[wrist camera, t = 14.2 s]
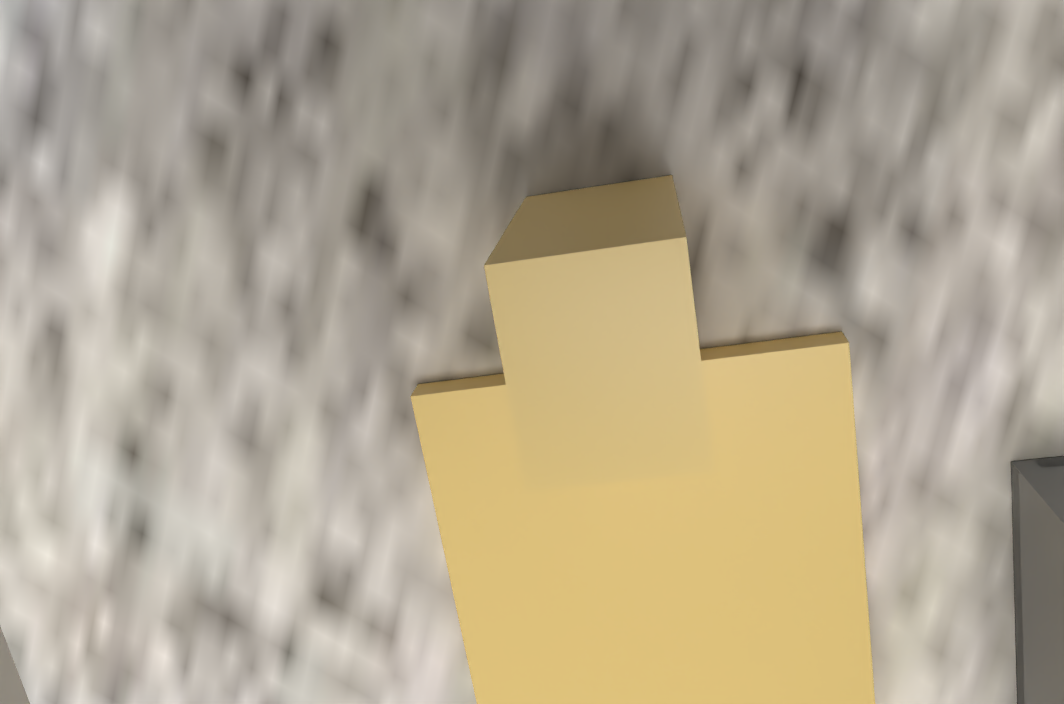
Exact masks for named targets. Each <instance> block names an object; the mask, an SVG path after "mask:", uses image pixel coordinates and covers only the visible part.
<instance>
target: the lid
mask: <svg viewBox="0 0 1064 704" xmlns="http://www.w3.org/2000/svg"><path fill="white" fill-rule="evenodd" d="M484 269H485V274H486V279H487V285H488V290H489V296H490V301H491V307H492V312H493V317H494V323H495V328H496V334H497V339H498V345H499V350H500V355H501V361H502V366H503V372H504V374H496V375H488V376H480V377H472V378H464V379H456V380H448V381H440V382H432V383H424V384H418V385H417V387H416V388H415V390H414V392H413V393H412V395H411V400H412V405H413V410H414V414H415V419H416V423H417V428H418V433H419V437H420V442H421V447H422V451H423V456H424V461H425V465H426V470H427V474H428V479H429V484H430V488H431V493H432V498H433V502H434V507H435V511H436V516H437V521H438V525H439V530H440V535H441V539H442V544H443V549H444V553H445V558H446V562H447V567H448V572H449V576H450V581H451V586H452V590H453V595H454V599H455V604H456V609H457V613H458V618H459V623H460V627H461V632H462V637H463V641H464V646H465V650H466V655H467V660H468V664H469V669H470V674H471V678H472V683H473V687H474V692H475V697H476V701H477V704H875V697H874V683H873V669H872V655H871V641H870V628H869V614H868V600H867V586H866V572H865V558H864V544H863V530H862V516H861V502H860V488H859V474H858V461H857V447H856V433H855V419H854V405H853V391H852V377H851V363H850V349H849V342H848V340H847V339H846V337H845V336H844V334H843V333H842V332H834V333H826V334H818V335H810V336H802V337H794V338H786V339H778V340H770V341H762V342H754V343H746V344H738V345H730V346H722V347H714V348H706V349H700V347H699V338H698V330H697V322H696V313H695V305H694V297H693V288H692V280H691V272H690V263H689V255H688V247H687V238H686V233H685V229H684V225H683V220H682V216H681V212H680V207H679V203H678V199H677V194H676V190H675V186H674V181H673V177H672V175H668V176H662V177H655V178H648V179H642V180H635V181H629V182H622V183H615V184H609V185H602V186H595V187H589V188H582V189H575V190H569V191H562V192H555V193H549V194H542V195H535V196H529V197H526V198H525V199H524V201H523V203H522V204H521V206H520V207H519V209H518V211H517V212H516V214H515V216H514V217H513V219H512V221H511V222H510V224H509V225H508V227H507V229H506V230H505V232H504V234H503V235H502V237H501V238H500V240H499V242H498V243H497V245H496V247H495V248H494V250H493V252H492V253H491V255H490V256H489V258H488V260H487V261H486V263H485V265H484Z"/></svg>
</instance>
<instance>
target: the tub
mask: <svg viewBox="0 0 1064 704" xmlns="http://www.w3.org/2000/svg"><path fill="white" fill-rule="evenodd" d="M1011 477H1012V514H1013V552H1014V590H1015V628H1016V666H1017V704H1064V456H1061V457H1051V458H1042V459H1032V460H1023V461H1013V462H1011Z"/></svg>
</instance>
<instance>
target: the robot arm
mask: <svg viewBox="0 0 1064 704" xmlns="http://www.w3.org/2000/svg"><path fill="white" fill-rule="evenodd" d="M0 704H30V703H29V700H28V697H27V695H26V692H25V689H24V687H23V684H22V682H21V679H20V676H19V674H18V671H17V669H16V666H15V663H14V661H13V658H12V656H11V653H10V650H9V648H8V645H7V643H6V640H5V637H4V635H3V632H2V629H1V627H0Z"/></svg>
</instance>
